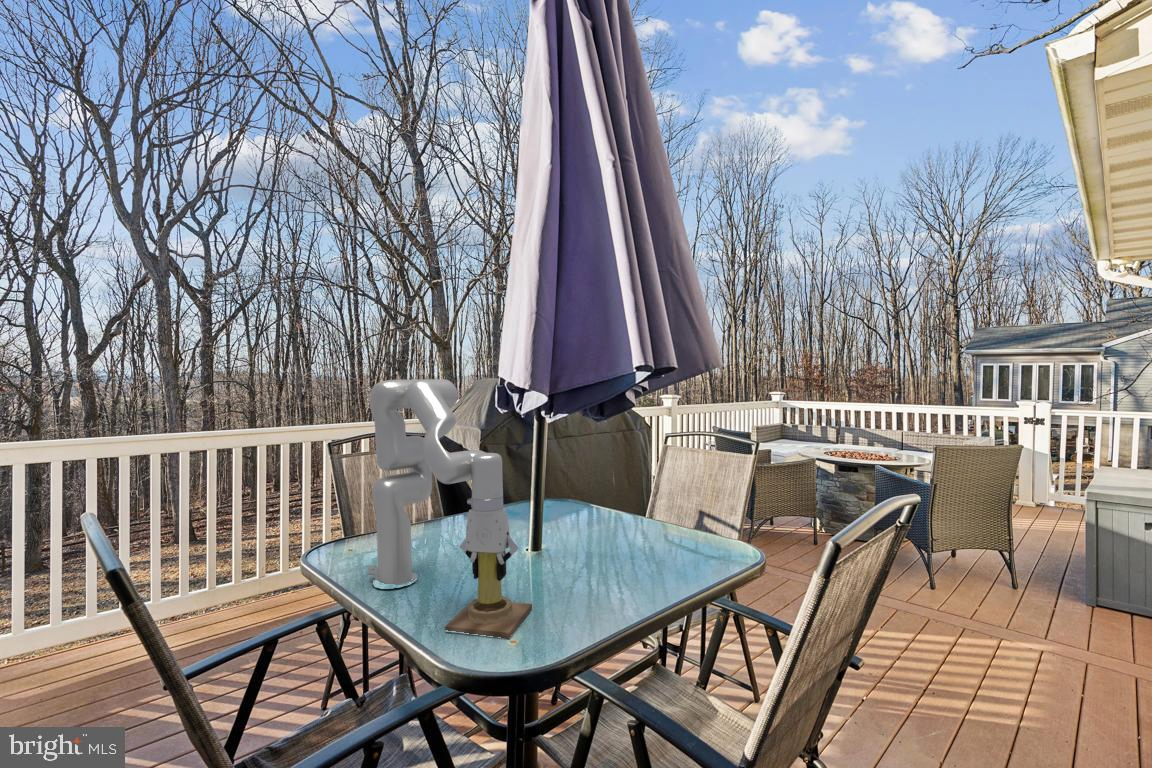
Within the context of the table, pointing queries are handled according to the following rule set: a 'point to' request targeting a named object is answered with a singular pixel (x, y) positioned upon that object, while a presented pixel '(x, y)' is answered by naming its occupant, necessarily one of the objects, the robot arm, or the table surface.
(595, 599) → the table surface
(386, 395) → the robot arm
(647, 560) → the table surface
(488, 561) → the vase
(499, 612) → the stand
